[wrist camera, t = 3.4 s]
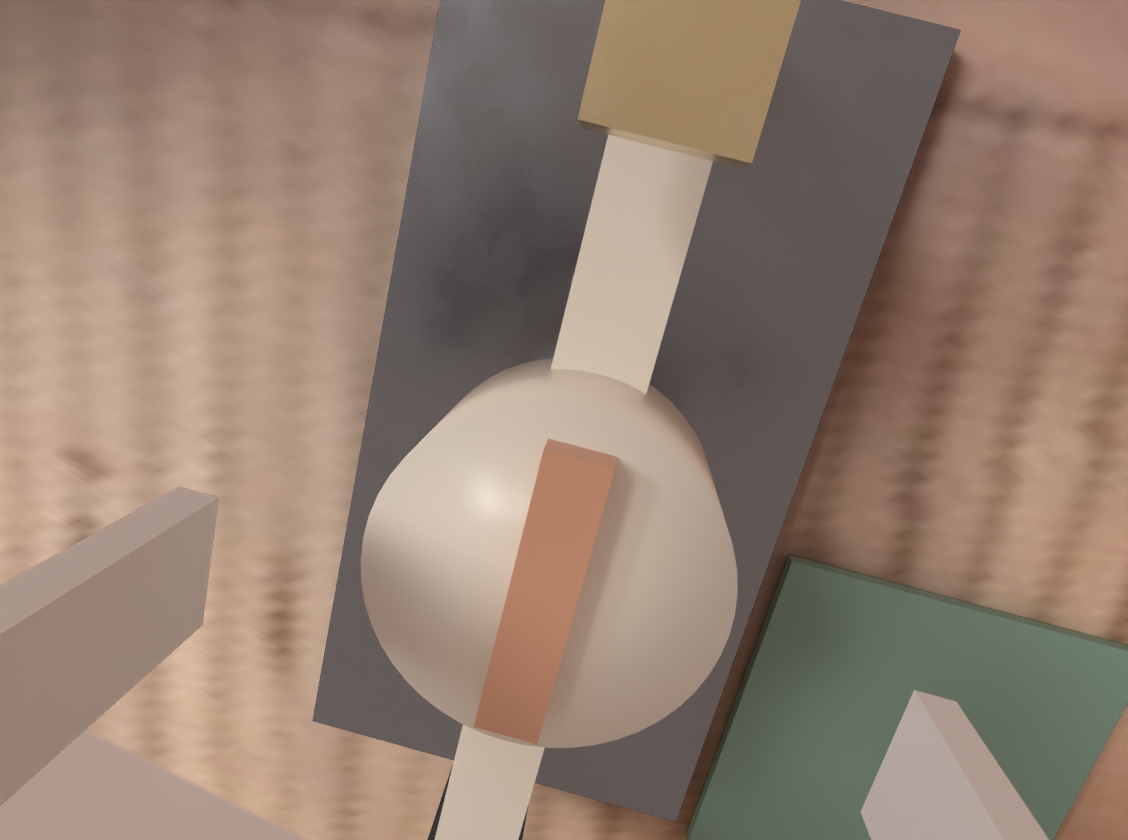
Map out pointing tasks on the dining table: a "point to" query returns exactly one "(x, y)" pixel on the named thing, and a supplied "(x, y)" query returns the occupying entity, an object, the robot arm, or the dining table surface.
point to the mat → (898, 703)
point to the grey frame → (704, 292)
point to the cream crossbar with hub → (562, 523)
